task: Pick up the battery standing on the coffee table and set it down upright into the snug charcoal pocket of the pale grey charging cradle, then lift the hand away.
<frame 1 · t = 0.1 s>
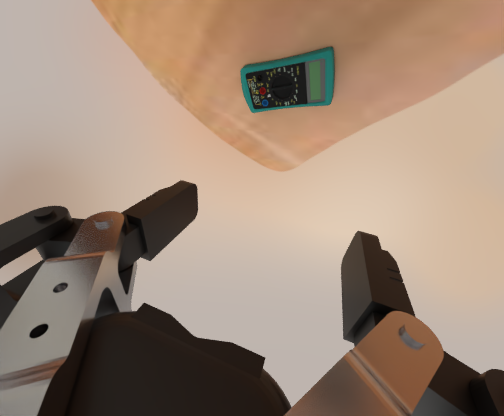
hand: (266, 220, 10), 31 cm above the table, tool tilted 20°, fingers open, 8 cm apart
digital multimeter: (288, 80, 34), on the table
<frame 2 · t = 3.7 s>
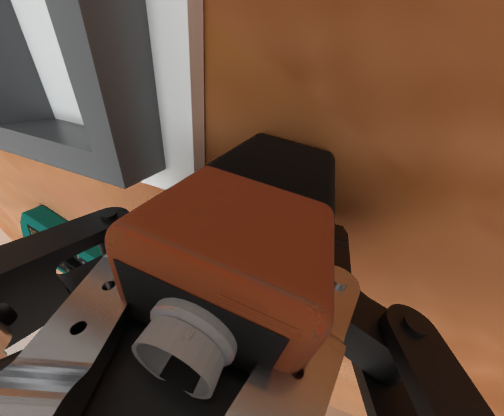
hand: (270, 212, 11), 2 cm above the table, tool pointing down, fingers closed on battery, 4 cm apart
charging cradle: (89, 28, 11), on the table
digital multimeter: (100, 252, 25), on the table
battery: (279, 195, 12), on the table, touching gripper
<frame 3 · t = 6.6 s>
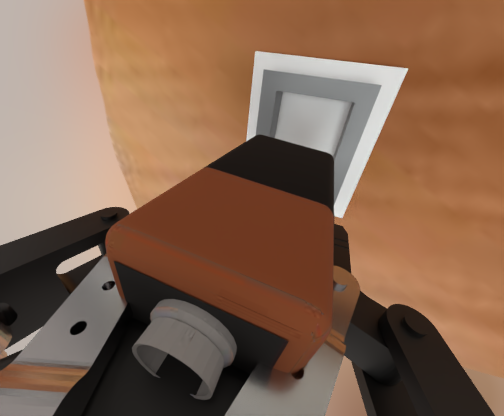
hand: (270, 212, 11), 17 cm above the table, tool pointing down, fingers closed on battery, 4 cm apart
charging cradle: (305, 142, 24), on the table
battery: (279, 195, 12), point 15 cm above the table, touching gripper
when the fingers open (5 cm above the table, at t = 9.4 s): battery drops 2 cm, resting on charging cradle.
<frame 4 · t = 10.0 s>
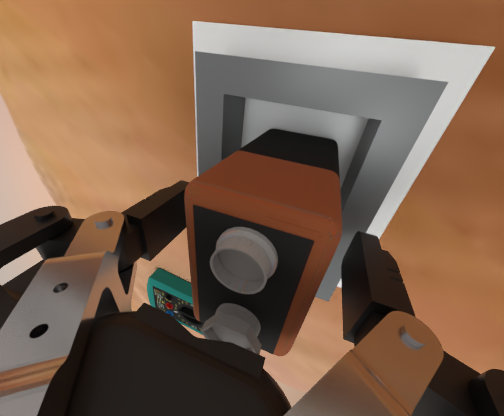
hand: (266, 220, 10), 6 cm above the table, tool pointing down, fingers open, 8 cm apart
charging cradle: (288, 176, 15), on the table
digital multimeter: (205, 299, 29), on the table
battery: (291, 182, 14), point 1 cm above the table, touching charging cradle
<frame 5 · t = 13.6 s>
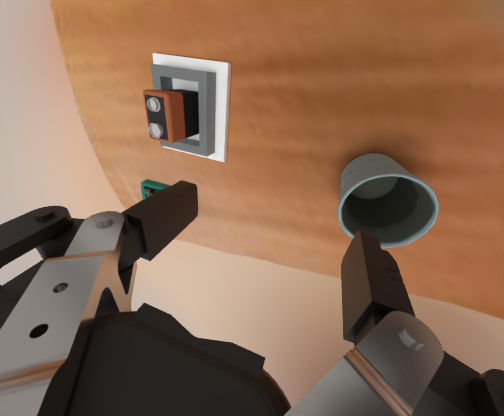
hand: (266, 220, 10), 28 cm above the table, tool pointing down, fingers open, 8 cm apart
charging cradle: (194, 110, 38), on the table
digital multimeter: (173, 196, 52), on the table
battery: (193, 111, 37), point 1 cm above the table, touching charging cradle
grey cup: (370, 177, 34), on the table
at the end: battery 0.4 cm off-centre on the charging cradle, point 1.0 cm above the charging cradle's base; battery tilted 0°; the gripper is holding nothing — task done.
